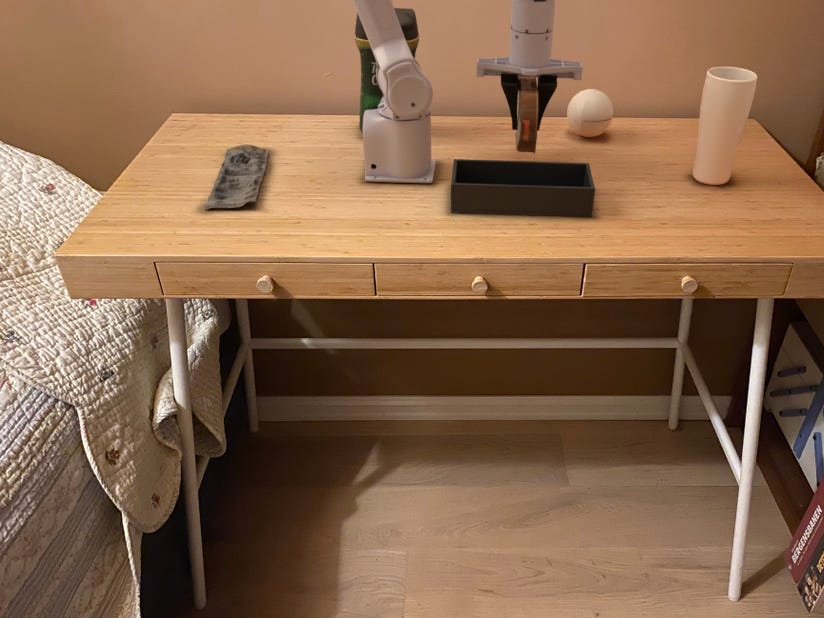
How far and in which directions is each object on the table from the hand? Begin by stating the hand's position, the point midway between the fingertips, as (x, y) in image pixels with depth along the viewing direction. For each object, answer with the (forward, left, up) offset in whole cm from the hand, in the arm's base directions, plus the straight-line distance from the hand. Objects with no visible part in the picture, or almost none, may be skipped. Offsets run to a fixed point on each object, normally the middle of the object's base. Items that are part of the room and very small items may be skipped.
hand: (525, 127), depth 114 cm
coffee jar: (-21, +12, -6) cm, 25 cm away
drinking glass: (+27, -3, -6) cm, 28 cm away
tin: (0, 0, -2) cm, 2 cm away
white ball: (+12, +13, -6) cm, 18 cm away
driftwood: (-40, -8, -6) cm, 41 cm away
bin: (-1, -13, -6) cm, 14 cm away
